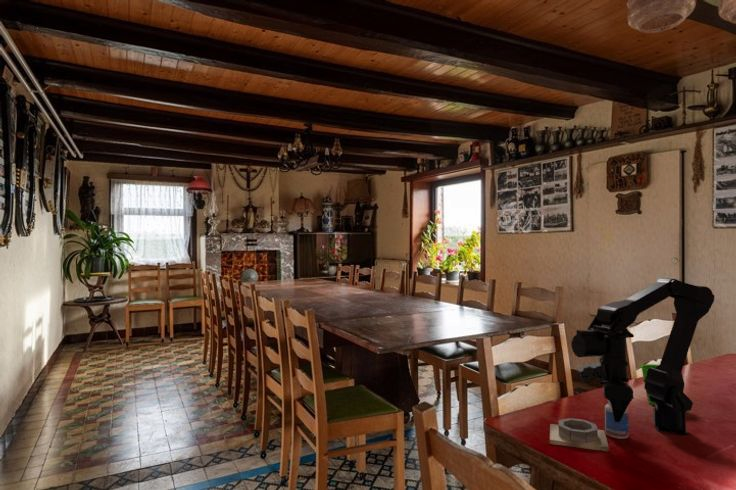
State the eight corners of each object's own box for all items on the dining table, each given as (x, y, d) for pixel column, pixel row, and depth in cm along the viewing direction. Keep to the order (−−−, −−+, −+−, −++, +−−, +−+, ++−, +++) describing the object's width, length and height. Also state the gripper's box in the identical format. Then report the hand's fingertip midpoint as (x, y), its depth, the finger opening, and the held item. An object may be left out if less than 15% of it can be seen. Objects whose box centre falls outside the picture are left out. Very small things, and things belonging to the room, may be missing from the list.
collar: (604, 434, 121) (604, 420, 121) (608, 451, 111) (608, 436, 111) (550, 427, 126) (550, 414, 126) (549, 443, 115) (549, 429, 115)
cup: (643, 406, 141) (643, 370, 141) (638, 397, 149) (638, 363, 149) (678, 410, 138) (678, 372, 138) (671, 400, 146) (671, 365, 146)
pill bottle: (632, 440, 117) (631, 401, 117) (609, 438, 118) (608, 399, 118) (624, 431, 122) (624, 394, 122) (602, 430, 123) (602, 393, 123)
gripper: (577, 345, 132) (579, 401, 132) (581, 360, 115) (582, 424, 115) (622, 348, 128) (623, 405, 128) (633, 364, 111) (634, 430, 111)
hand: (615, 415), depth 120 cm, fingers open, 9 cm apart
